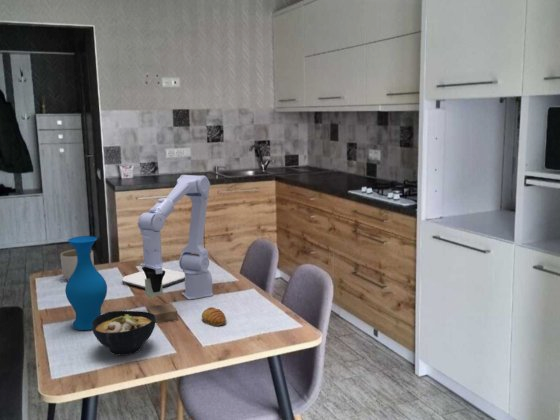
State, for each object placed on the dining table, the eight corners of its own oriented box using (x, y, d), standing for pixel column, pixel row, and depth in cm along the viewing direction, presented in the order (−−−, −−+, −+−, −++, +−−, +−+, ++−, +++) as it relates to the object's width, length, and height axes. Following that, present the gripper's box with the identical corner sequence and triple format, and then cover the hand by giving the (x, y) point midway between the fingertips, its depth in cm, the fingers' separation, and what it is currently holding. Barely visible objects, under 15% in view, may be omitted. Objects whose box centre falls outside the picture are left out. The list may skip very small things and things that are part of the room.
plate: (157, 271, 231) (156, 266, 231) (191, 279, 219) (191, 274, 219) (117, 283, 215) (116, 278, 214) (152, 293, 203) (152, 287, 202)
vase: (89, 315, 180) (83, 233, 175) (117, 322, 174) (112, 237, 170) (59, 328, 170) (52, 241, 165) (88, 335, 164) (82, 245, 159)
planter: (72, 273, 228) (70, 248, 226) (100, 274, 226) (98, 249, 224) (56, 282, 216) (54, 256, 214) (85, 283, 214) (83, 257, 212)
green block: (159, 291, 181) (158, 276, 181) (162, 295, 178) (162, 280, 177) (145, 293, 179) (144, 278, 179) (149, 297, 176) (148, 282, 175)
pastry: (231, 324, 172) (231, 313, 171) (212, 329, 168) (211, 317, 167) (218, 315, 179) (217, 304, 179) (199, 320, 176) (198, 309, 175)
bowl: (120, 333, 165) (118, 302, 163) (168, 342, 159) (167, 309, 157) (80, 356, 150) (77, 322, 148) (131, 367, 143) (129, 331, 141)
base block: (172, 313, 182) (171, 303, 182) (177, 321, 175) (177, 310, 175) (148, 317, 179) (147, 307, 179) (152, 325, 172) (152, 314, 171)
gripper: (134, 246, 180) (136, 285, 183) (145, 255, 168) (148, 298, 170) (155, 243, 184) (157, 282, 186) (168, 253, 171) (170, 294, 173)
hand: (154, 289), depth 178 cm, fingers closed on green block, 4 cm apart
